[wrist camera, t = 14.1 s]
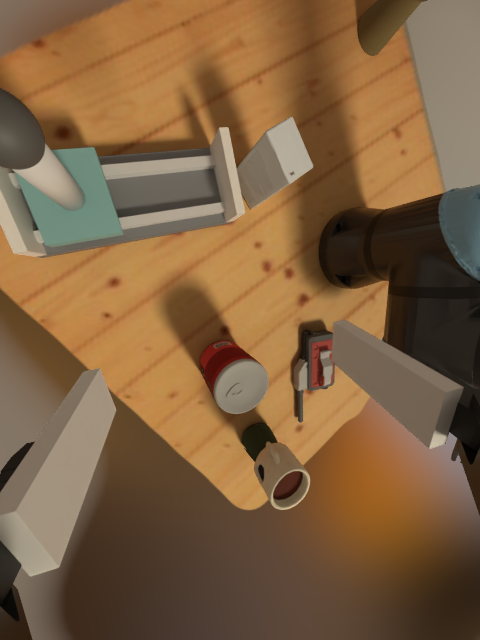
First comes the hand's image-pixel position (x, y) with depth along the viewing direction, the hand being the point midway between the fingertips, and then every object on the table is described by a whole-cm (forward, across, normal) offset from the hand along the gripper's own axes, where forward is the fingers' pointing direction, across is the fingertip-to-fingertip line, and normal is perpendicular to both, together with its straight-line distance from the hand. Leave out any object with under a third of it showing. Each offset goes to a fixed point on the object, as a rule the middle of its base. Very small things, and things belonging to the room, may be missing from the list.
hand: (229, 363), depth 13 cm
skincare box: (+31, +11, +12) cm, 35 cm away
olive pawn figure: (+39, +36, +35) cm, 63 cm away
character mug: (+23, +6, -33) cm, 40 cm away
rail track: (+28, -7, +11) cm, 31 cm away
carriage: (+23, -13, +11) cm, 29 cm away
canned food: (+25, +1, -15) cm, 29 cm away
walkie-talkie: (+27, +19, -24) cm, 41 cm away
